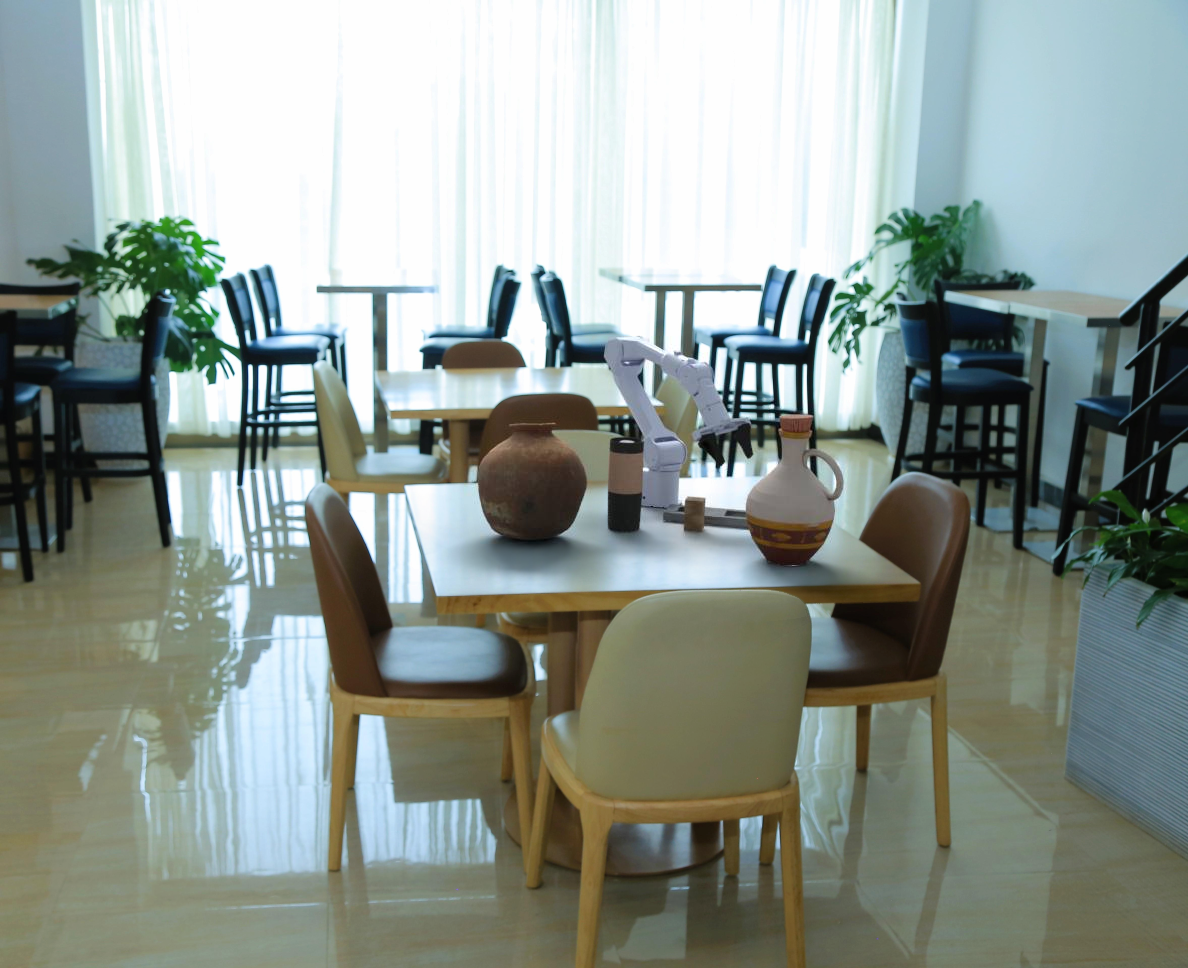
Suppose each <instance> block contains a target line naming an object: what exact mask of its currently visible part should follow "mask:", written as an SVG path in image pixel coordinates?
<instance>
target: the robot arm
mask: <svg viewBox="0 0 1188 968" xmlns="http://www.w3.org/2000/svg"><path fill="white" fill-rule="evenodd" d="M604 347H605V348H604V354H603V358H604V360H605V361H606V364H608V366H609V369H610V370H611V373H612V377H613V380H614V383H615V385H616V387H617V389H618V390H619V392H620V394H621V396H622V398H623V400H624V402H625V404H626V405H627V407H628V409H629V411H630V414H631V416H632V417H633V419H634V420H635V422H636V424H637V426H638V428H639V430H640V431H641V433H642V436H643V439H642V441H644V455H643V462H644V463H645V465H646V466H647V467H644V466H643V486H642V503H641V505H642V506H641V507H651V506H653V507H654V508H663V507H664V509H667V507H668V506H669V505H670V504H675V505H682V504H681V503H682V502H683V500H682V499H679V492H680V489H679V488H680V487H679V486H680V470H681V469H683V465H684V464H685V463H686V461H687V460H688V448H687V445H686V444H685V442H684V441H682V440H681V439H680V438H679V437H678V435H677V433H676V432H674V431H672V430H670V429H667V428H666V427H665V425H664V424H663V422H662V420H661V417H659V414H658V412H657V410H656V409H655V407H654V406H653V403H652V401H651V399H650V397H649V396H648V394H647V392H646V390H645V389H644V386H643V385H642V383H641V381H640V379H639V378H638V375H640V374H641V373H642V369H643V368H644V365H645V363H646V360H647V361H650V362H652V363H653V364H656V365H658V366H660V369H661V371H662V373H664V374H665V375H668V376H669V377H670V378H672V379H675V380H677V381H679V385H680V386H681V388H682V389H684V390H686V391H687V393H688V395H690V396H691V397H692V399H693V401H694V404H695V405H696V407H697V410H698V412H699V413H700V416H701V418H702V420H703V422H704V424H705V426H704V427H701V428H699V429H695V430H694V431H693V432H692V433H691V437H692V438H693V441H694V442H698V443H697V445H698V447H699V449H701V450H702V451H704V452H706V454H707V455H709V456H710V457H711V458H712V460H714V461H715V462H716V464H717V466H719V467H723V465H724V464H725V463H726V460H725V457H724V455H723V452H722V451H721V449H720V446H719V443H718V440H717V436H718V435H722V434H725V433H729V432H733V431H735V434H734V436H733V438H734V439H735V440H736V442H737V443H738V445H739V446H740V448H741V450H742V452H743V453H744V456H745V458H746V459H747V460H750V459H751V458H752V457H753V456H754V451H753V446H752V439H751V438H752V437H751V436H752V435H751V434H752V433H751V430H752V423H751V421H750V418H749V417H748V416H747V417H740V418H739V417H738V418H731V417H730V415H729V413H728V410H727V408H726V406H725V404H724V403H723V400H722V398H721V396H720V393H719V392H718V390H717V388H716V385H715V383H714V379H715V373H714V369H713V367H712V366H711V365H710V364H708V362H707V361H703V362H700V363H698V362H696V360H695V358H693V357H687V356H685V355H684V354H682V351H681V350H678V349H677V350H671V351H669V352H667V351H666V350H664V349H662V348H661V347H658V346H657V345H656V344H654V343H652V342H651V341H650V339H649V338H646V337H644V336H642V335H636V336H623V337H622V336H621V337H620V336H619V337H617V336H612V337H609V338H608V339H607V341H606V343H605V346H604ZM653 507H652V508H653Z"/></svg>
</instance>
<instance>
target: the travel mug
mask: <svg viewBox="0 0 1188 968" xmlns="http://www.w3.org/2000/svg"><path fill="white" fill-rule="evenodd" d="M643 455H644V441H643V440H641V438H637V437H631V436H618V437H617V436H616V437H611V438H610V440H609V456H608V474H607V475H608V478H607V529H608V530H609V529H610V530H609V531H612V532H616V531H617V533H634V532H638V531H639V530H640V525H641V515H642V514H641V513H642V506H641V503H642V486H643V468H644V457H643Z"/></svg>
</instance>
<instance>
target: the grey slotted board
mask: <svg viewBox="0 0 1188 968" xmlns="http://www.w3.org/2000/svg"><path fill="white" fill-rule="evenodd" d="M684 510H685V504H680V505H675V504H670V505H669V506H668V507H667V508H665V510H664V511H663V514H662V515H663V516H662V518H663V519H662V521H663V520H665V521H664V522H672V521H676V522H675V523H684ZM704 525H708V526H720V527H733V528H741V529H742V528H745V529H749V528H748V523H747V518H746V509H736V508H735V509H732V508H721V507H712V506H711V507H709V506H708V507H707V506H705V518H704Z"/></svg>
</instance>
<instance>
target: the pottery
mask: <svg viewBox="0 0 1188 968" xmlns="http://www.w3.org/2000/svg"><path fill="white" fill-rule="evenodd" d="M556 425H557V424H556V422H549V423H514V424H509V425H508V426H509V429H510V430H511V431H512V434H511V435H510V436H509V437H508V438H507V439H505V440H503V441H502V442H500V443H498V444H497V445H496V446H495V447H493V448H492V449H491V450H489V452H487V454H486V455H485V456H484V457H483V458H482V460H481V461H480V465H479V466H478V473H477V487H478V490H477V491H478V497H479V502H480V507H481V510H482V513H483V516H484V518H485V520H486V522H487V523H488V525H489V527H490V529H491V530H493V532H494V533H497V534H498V535H501V536H504V537H505V538H510V539H516V540H523V541H538V540H541V541H542V540H547V539H550V538H554V537H557V536H559V535H562V534H563V533H565V532H567V531H568V530H569V529H570V528H571V527H572V526H573V524H574V522H575V520H576V518H577V516H578V514H579V511H580V509H581V506H582V503H583V500H584V496H585V494H586V492H587V488H588V487H587V486H588V477H587V473H586V470H585V467H584V464H583V462H582V460H581V458H580V456H579V455H578V454H577V452H576V451H575V450H574V448H572V447H571V446H570V445H569V444H568V443H567V442H565V441H564V440H562V439H561V438H560V437H557V436H556V435H555V434H554V433H553V429H554V428H555V427H556Z"/></svg>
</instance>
